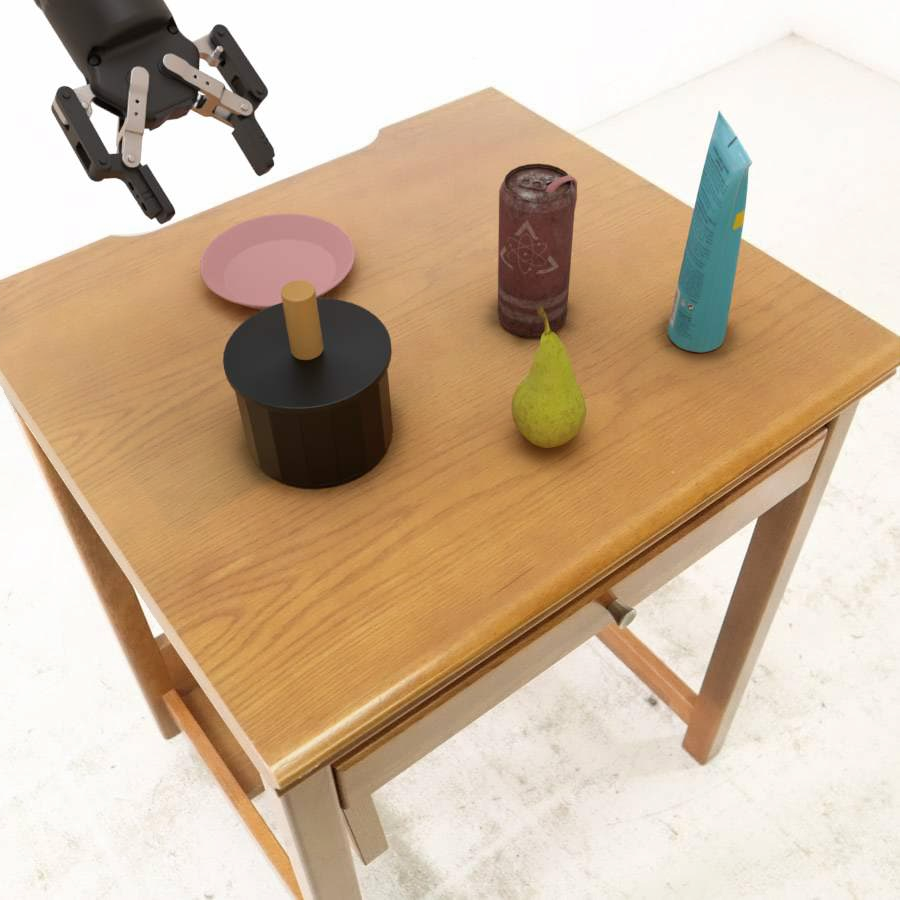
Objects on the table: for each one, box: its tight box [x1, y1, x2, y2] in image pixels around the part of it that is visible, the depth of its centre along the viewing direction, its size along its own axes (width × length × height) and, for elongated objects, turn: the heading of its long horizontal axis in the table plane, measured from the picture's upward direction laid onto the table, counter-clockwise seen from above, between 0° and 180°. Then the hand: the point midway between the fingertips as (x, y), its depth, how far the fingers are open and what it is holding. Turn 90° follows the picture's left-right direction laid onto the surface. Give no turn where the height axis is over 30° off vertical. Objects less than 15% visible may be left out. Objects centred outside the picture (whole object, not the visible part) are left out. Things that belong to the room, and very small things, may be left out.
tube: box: [667, 110, 753, 353], centre depth 85 cm, size 7×5×19 cm, turn 13°
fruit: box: [511, 306, 587, 449], centre depth 80 cm, size 6×6×12 cm
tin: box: [234, 369, 394, 490], centre depth 82 cm, size 11×11×8 cm
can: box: [497, 163, 578, 339], centre depth 89 cm, size 6×6×14 cm
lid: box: [222, 280, 393, 414], centre depth 77 cm, size 12×12×7 cm
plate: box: [199, 213, 356, 311], centre depth 99 cm, size 14×14×2 cm
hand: (219, 194), depth 75 cm, fingers open, 8 cm apart
